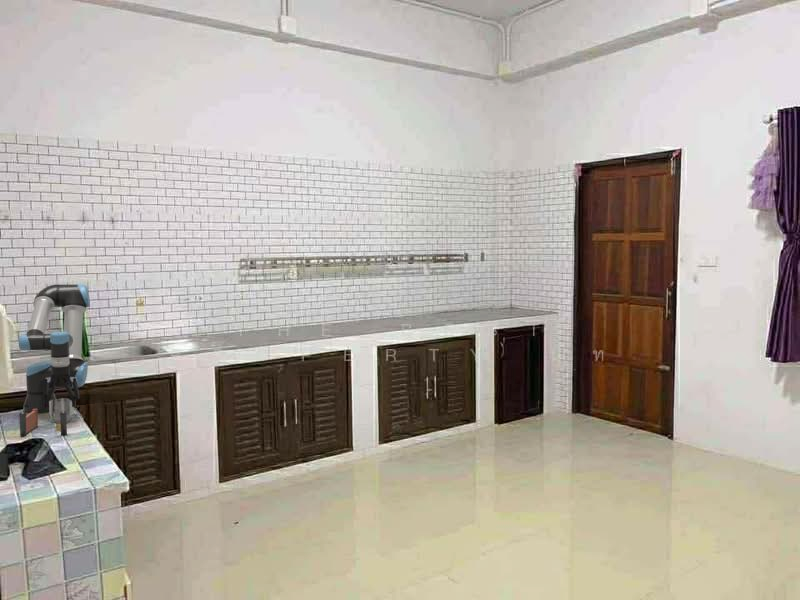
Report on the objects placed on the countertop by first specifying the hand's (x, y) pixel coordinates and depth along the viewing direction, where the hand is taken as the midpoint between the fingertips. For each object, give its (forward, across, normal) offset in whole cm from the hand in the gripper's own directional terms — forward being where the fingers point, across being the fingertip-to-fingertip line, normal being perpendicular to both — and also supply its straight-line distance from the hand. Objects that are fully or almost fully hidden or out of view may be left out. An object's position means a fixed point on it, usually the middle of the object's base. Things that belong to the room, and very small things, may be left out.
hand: (61, 413), depth 303 cm
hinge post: (+4, -9, -21) cm, 23 cm away
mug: (+4, 0, 0) cm, 4 cm away
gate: (+3, -9, -13) cm, 16 cm away
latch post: (+4, +7, -21) cm, 23 cm away
